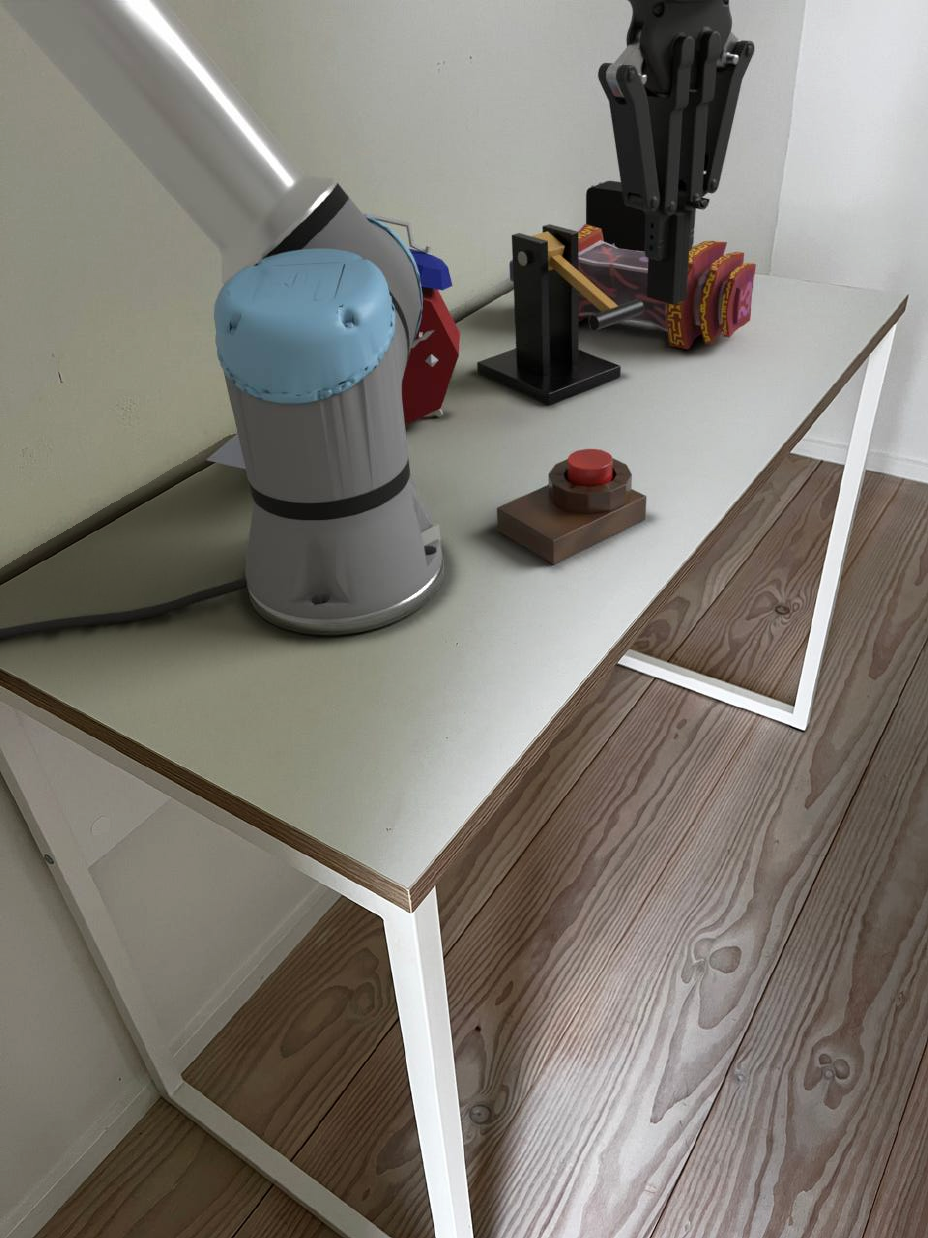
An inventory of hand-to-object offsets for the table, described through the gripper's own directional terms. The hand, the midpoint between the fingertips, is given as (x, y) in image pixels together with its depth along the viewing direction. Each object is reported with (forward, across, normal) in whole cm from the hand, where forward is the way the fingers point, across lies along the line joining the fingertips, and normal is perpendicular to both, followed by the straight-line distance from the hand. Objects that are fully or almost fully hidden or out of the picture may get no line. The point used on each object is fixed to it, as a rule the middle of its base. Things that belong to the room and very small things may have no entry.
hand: (666, 297), depth 76 cm
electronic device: (+16, +41, +46) cm, 64 cm away
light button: (+13, -8, 0) cm, 15 cm away
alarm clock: (+17, -10, +27) cm, 33 cm away
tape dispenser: (+16, -22, +25) cm, 37 cm away
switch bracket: (+16, +9, +25) cm, 31 cm away
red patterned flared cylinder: (+16, +25, +30) cm, 42 cm away
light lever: (+6, +9, +21) cm, 23 cm away
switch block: (+16, -10, 0) cm, 19 cm away
